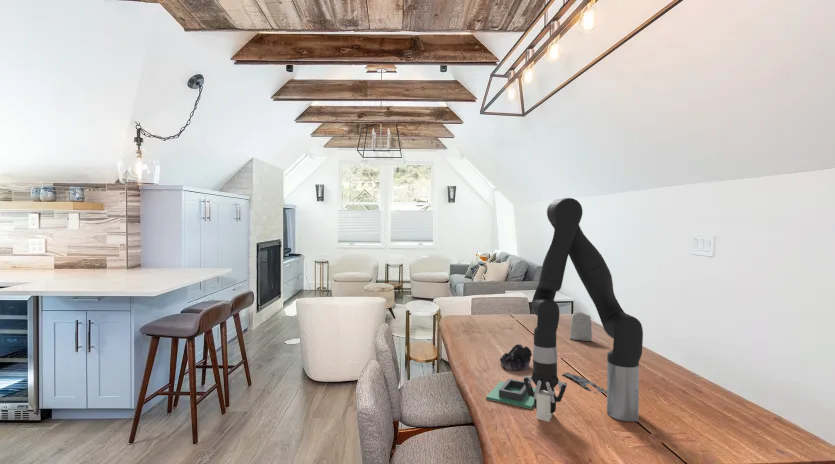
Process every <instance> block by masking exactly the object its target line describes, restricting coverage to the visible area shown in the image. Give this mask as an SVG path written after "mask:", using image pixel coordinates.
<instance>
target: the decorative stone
mask: <svg viewBox="0 0 835 464" xmlns="http://www.w3.org/2000/svg"><path fill="white" fill-rule="evenodd" d="M571 316H572V317H571V323H570V331H569V339H570V340H573V341H575V340H576V341H584V342H585V341H586V342H591V341H592V339H593V333H592V331H593V330H592V326H593V325H592V320H591V319H592V318H591V316H590V315H589V314H586V313H584V312H582V311H579V310H575V311H573V313H572V315H571Z"/></svg>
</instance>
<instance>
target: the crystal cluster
mask: <svg viewBox="0 0 835 464" xmlns="http://www.w3.org/2000/svg"><path fill="white" fill-rule="evenodd" d="M532 357H533V352H532V350H531V349H530V348H529V347H528V346H527V345H526V346H523V345H522V344H521V343H520V344H515V345H514V346H513V347H512V349H511V350H510V351H508V353H507V352H505V353H503V354H502V356H501V357H500V358H499V362H500V364H501V366H502V368H505V369H507V370H509V371H523V370H528V369H529V366H530V363H531V360H532Z"/></svg>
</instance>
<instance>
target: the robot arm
mask: <svg viewBox="0 0 835 464" xmlns="http://www.w3.org/2000/svg"><path fill="white" fill-rule="evenodd" d="M546 216H547V219H548V221H549V223H550V225H551V226H552V227H553V229H554V230H553V236H552V240H551V243H550V246H549V248H548V250H547V252H546V255H545V256H544V259H543V262H542V266H541V270H540V275H539V280H538V285H537V287H536V288H535V291H534V294H533V297H532V300H531V310H532V312H533V314H534V315H536V317H537V324H536V327H535V328H534V329H533V330H534V331H533V348H532V349H533V350H532V374H531V375H530V376H528V375H525V376H524V378H523V381H524V383H525V386H526V389H527V392H528V395H529V396H532V397H533V398H534V406H533V408H534V409H535V410H536V411H537V393H539V392H540V390H545V391H548V393H549V395H550V396H551V414H553V415H554V413H555V412H556V410H557V402H558V403H560V402H561V401H562V399H563V397H564V394H565V392H566V389H567V386H568V383H567V382H566V381H565V382H563V381H560V379H559V377H558V349H557V331H558V328H559V327H558V326H559V321H560V316H561V315H560V308H559V307H560V306H559V305H558V303H557V302H556V301H555V297H556V294H557V292H559V291H560V290H561V288H562V285H563V281H564V276H565V270H566V266H567V262H568V258H570V261H571V262H572V264H573V266H574V268H575V271H576V273H577V275H578V277H579V279H580V281H581V283H582V285H583V286H584V288H585V290H586V292H587V294H588V295H589V297H590V299H591V301H592V302H593V304H594V306H595V308H596V312H597V314H598V316H599V319H600V322H601V325H602V327H603V329H604V331H605V333H606V334H607V335H608V336H609V337H610V338H612V339H613V343H612V350H609V351H608V352H607V355H606V357H607V359H606V362H607V363H606V365H607V367H606V368H607V369H606V372H607V373H606V377H607V378H606V391H607V392H606V414H607V415H608V416H609V417H610V418H613V419H615V420H618V421H623V422H639V418H640V417H639V415H640V414H639V413H640V412H639V411H640V409H639V408H640V399H639V398H640V385H639V383H640V377H639V376H640V360H641V358H642V355H643V341H644V340H643V339H644V331H643V330H644V329H643V325H642V323H641V322H640V320H639V319H638V318H636V317H634V316H633V315H630V314H628V313H626V312H625V311H624V309H623V308H622V307H621V305H620V303H619V301H618V300H617V298H616V295H615V293H614V291H615V290H614V283H613V276H612V273H611V271H610V269H609V267H608V265H607V263H606V261H605V259H604V257H603V255H602V254H601V253H600V251H599V250H598V249H597V248H596V247H595V245H594V244H593V243H592V242H591V241H590V240H589V239H588V237H586V235H585V234H584V232H583V230H582V228H581V226H580V223H581V221H582V218H583V207H582V205H581V203H580V201H578V200H577V199H575V198H571V197H563V198H558V199H555V200H553V201H551V202H550V203H549V205H548V207H547V208H546ZM532 382H533V383H534V384H535V386H536V387H535V388H536V390H535V392H534V391H533V388H534V387H533V385H532ZM557 385H558V389H559V393H558V395H557V396H556V390H555V388H556V386H557Z"/></svg>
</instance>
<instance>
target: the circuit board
mask: <svg viewBox="0 0 835 464" xmlns="http://www.w3.org/2000/svg"><path fill="white" fill-rule="evenodd" d="M532 388H533V391H534V392H535V390H536V387H532ZM485 397H486V398H485V400H487V399H489V400H488V401H491V400H495V401H494V402H496V401H499V402H498V403H500V402H504V403H503V404H505V403H509V404H508V405H510V404H513V405H512V406H514V405H517V406H516V407H519V406H521V407H520V408H523V407H525V409H528V408H530V409H529V410H532V409H533V408H534V398H533V397H532V396H529V395H528V392H527V389H526V386H525V383H524V380H518V379H512V378H507V380H506V381H499V382H498V383H497V384H496V385H495V386H494V388H492V389H491V391H490V392H489V393H488V394H486V396H485ZM532 407H533V408H532Z"/></svg>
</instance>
